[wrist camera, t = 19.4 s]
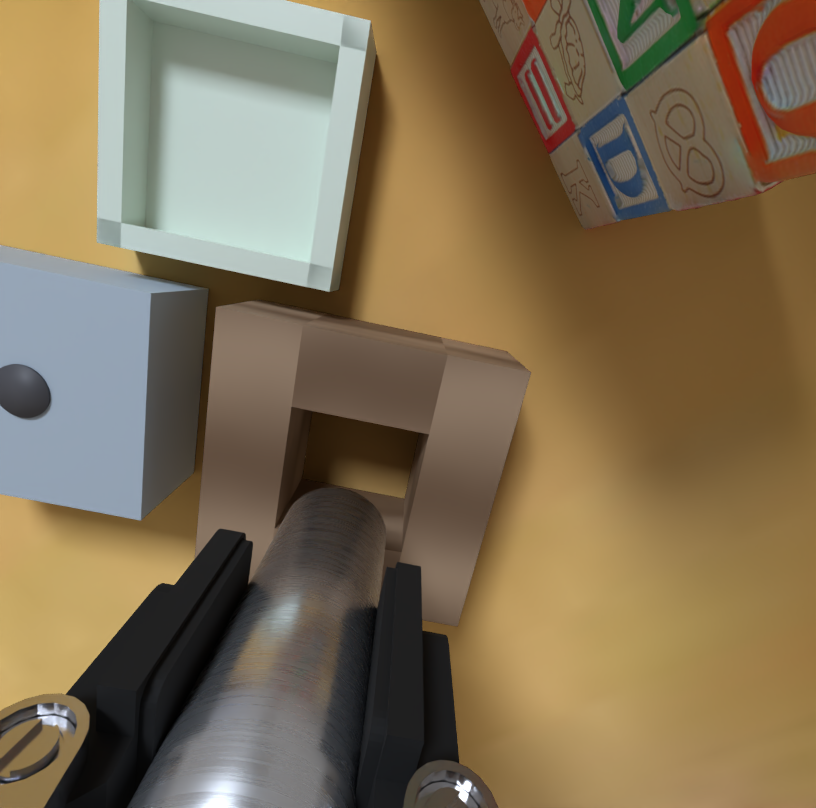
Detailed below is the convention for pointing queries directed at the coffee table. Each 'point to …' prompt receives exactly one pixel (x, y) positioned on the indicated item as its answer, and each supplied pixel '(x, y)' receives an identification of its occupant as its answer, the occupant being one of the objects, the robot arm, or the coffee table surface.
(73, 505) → the block
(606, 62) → the stack of blocks
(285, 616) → the cylinder
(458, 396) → the square-holed wooden block
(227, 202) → the tray
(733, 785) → the coffee table surface
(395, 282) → the coffee table surface
